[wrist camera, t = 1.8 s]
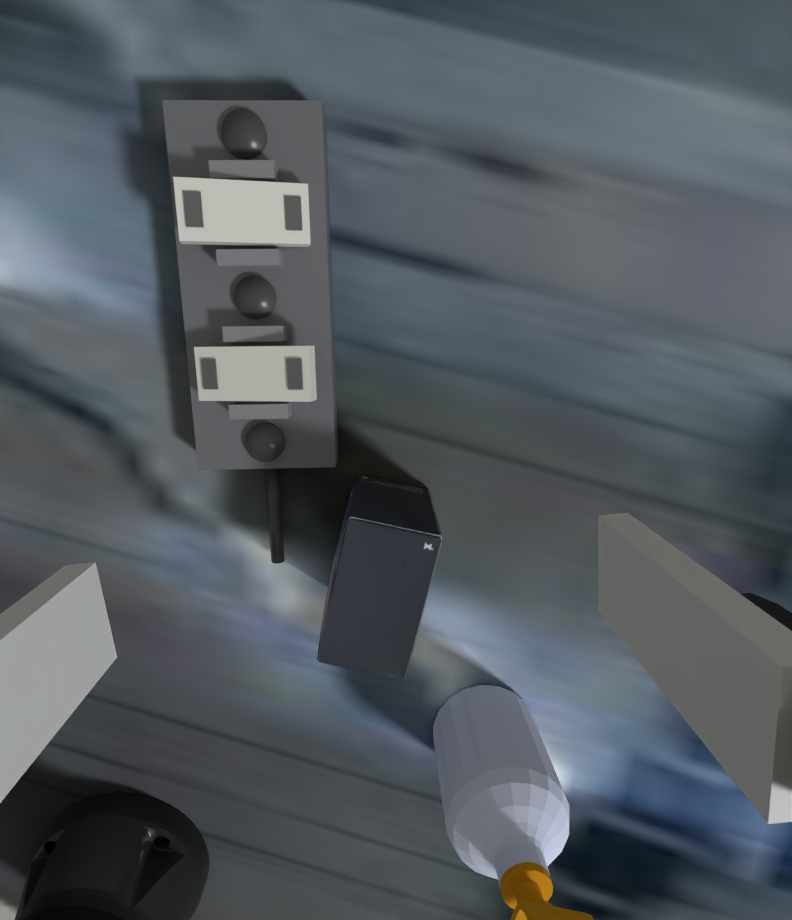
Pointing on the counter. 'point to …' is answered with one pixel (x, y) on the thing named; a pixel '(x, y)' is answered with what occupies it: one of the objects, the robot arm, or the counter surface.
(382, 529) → the small box
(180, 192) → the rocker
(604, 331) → the counter surface
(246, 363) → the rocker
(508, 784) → the soap bottle
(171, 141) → the power strip
